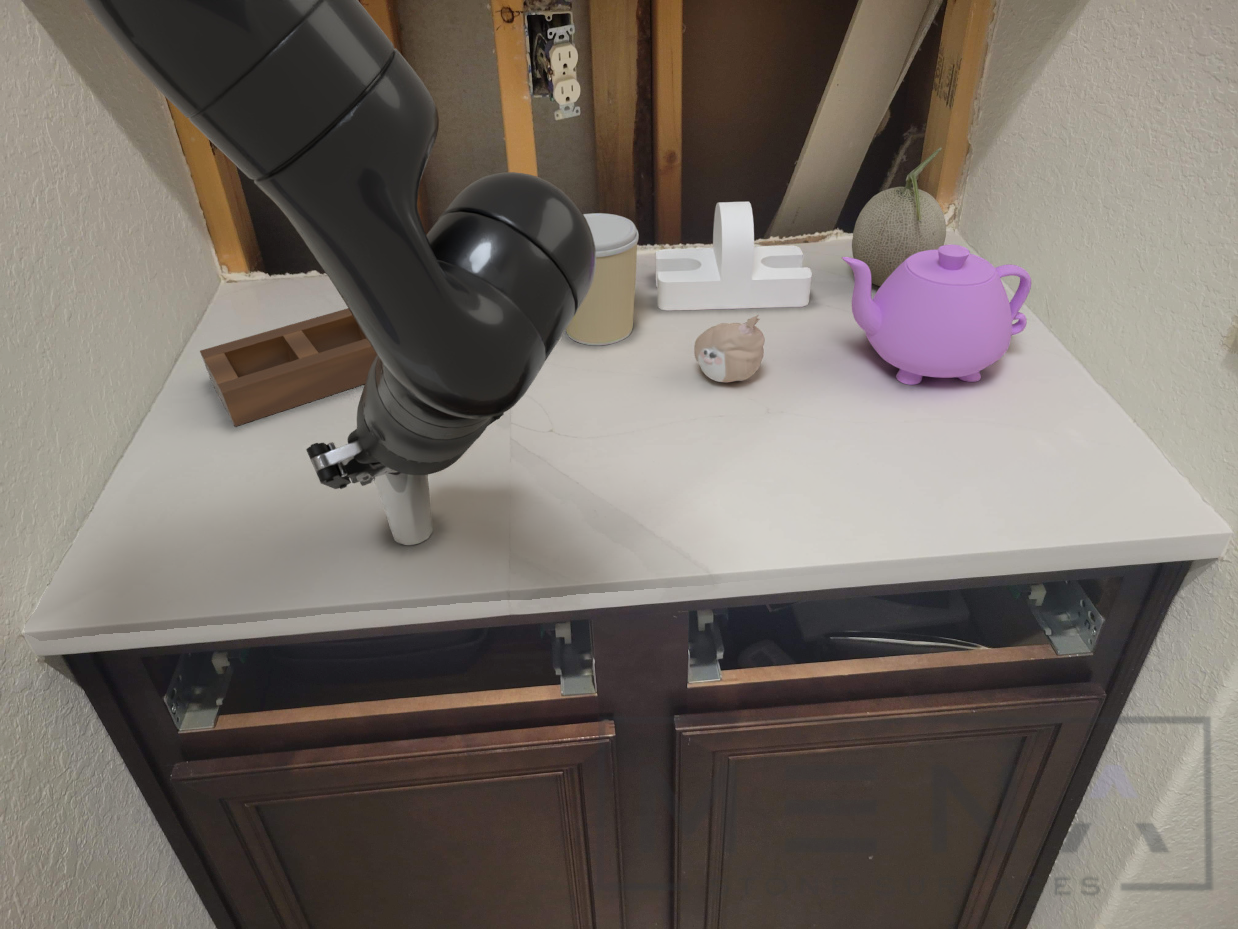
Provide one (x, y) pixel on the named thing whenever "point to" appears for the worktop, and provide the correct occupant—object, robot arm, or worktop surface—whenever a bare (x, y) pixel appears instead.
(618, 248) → the coffee cup
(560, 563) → the worktop surface
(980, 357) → the teapot
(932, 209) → the fruit
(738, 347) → the beige round figure
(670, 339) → the worktop surface
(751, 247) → the white slotted holder
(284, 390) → the tray
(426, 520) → the milkshake
